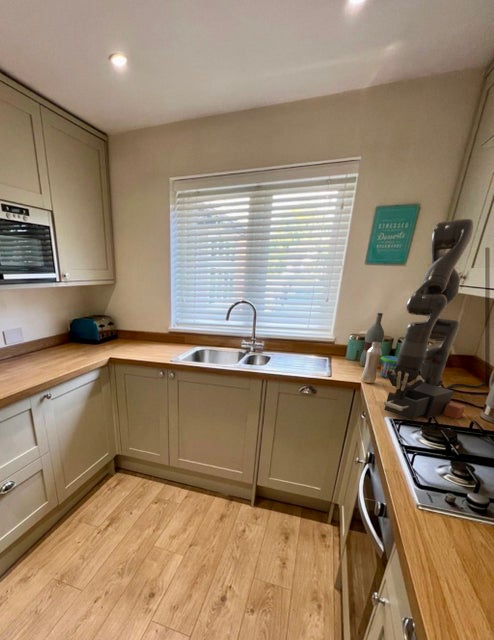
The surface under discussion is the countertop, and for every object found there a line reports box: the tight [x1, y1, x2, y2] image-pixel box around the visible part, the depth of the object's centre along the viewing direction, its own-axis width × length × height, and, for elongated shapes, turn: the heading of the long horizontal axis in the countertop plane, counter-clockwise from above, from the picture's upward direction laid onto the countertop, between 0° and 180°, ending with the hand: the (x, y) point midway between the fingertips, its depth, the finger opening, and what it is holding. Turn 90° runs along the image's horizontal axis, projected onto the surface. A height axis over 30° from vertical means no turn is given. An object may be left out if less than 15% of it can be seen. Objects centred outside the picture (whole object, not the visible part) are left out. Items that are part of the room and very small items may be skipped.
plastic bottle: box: [360, 342, 383, 384], centre depth 160 cm, size 6×7×20 cm
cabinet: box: [409, 383, 454, 419], centre depth 131 cm, size 14×12×9 cm
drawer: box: [383, 391, 432, 421], centre depth 125 cm, size 18×10×7 cm, turn 118°
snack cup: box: [379, 355, 398, 379], centre depth 171 cm, size 16×10×10 cm
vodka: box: [359, 312, 385, 368], centre depth 188 cm, size 9×9×30 cm
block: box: [442, 402, 466, 420], centre depth 127 cm, size 4×4×4 cm
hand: (398, 399), depth 122 cm, fingers closed
